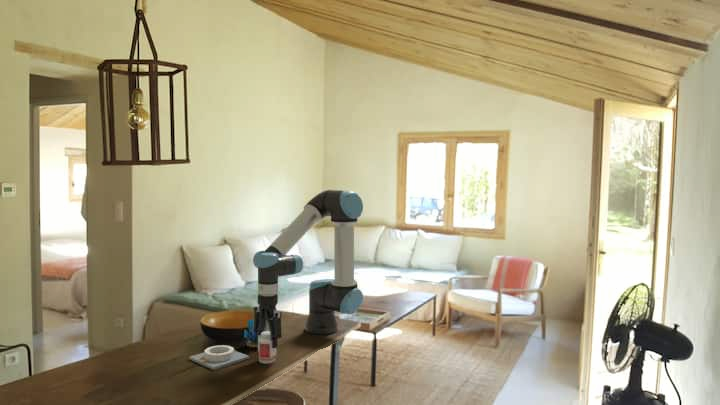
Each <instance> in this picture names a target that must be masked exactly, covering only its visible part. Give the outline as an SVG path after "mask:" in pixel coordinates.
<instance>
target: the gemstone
mask: <svg viewBox="0 0 720 405" xmlns="http://www.w3.org/2000/svg"><path fill="white" fill-rule="evenodd" d="M246 323H247V327H248V330H249V331H248V330H246V329H244V335H243V338H244V339H246V340H247V342H246V346H247V347H248V346H249V347H248V348H252V347H253V348H255V347H256V348H258V342H257V333H256V332H254V317H253V318H251V319H250V320H248V321H247V322H246ZM264 331H268V329H267V327H265V328H264Z"/></svg>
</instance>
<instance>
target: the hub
mask: <svg viewBox="0 0 720 405" xmlns="http://www.w3.org/2000/svg"><path fill="white" fill-rule="evenodd" d="M246 359H247V360H249V359H250V356H249V355H247V354H245V353H242V352H239V351H237V350H235V349H234V347H233V346H230V345H224V344H222V345H221V344H220V345H213V346H209V347H207V348H206V349H204V352H200V353H198V354H194V355H191V356H189V357H188V360H189V361H192V362H195V363H197V364H199V365H201V366H203V367H205V368H208V369H209V370H212V371H215V370H219V369H222V368H224V367H228V366H231V365H234V364H237V363H240V361H241V362H243V360H244V361H247V360H246Z"/></svg>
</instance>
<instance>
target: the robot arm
mask: <svg viewBox="0 0 720 405" xmlns="http://www.w3.org/2000/svg"><path fill="white" fill-rule="evenodd" d="M363 202H364V201H363V200H362V197H361V196H360V195H359V193H357V192H355V191H353V190H352V191H351V190H341V189H340V190H336V189H335V190H334V189H333V190H332V189H328V190H323V191H321V192H319V193H318V194H316V195H315V196H313V197H312V198H311V199H310V200H308V202H307V203H306V204H305V205H304V206H303V210H302V211H301V212H300V213H299V214H298V215H297V217H295V218H294V220H293V221H291V223H290V224H289V225H288V226H286V228H285V229H284V230H283V231H282V232H281V233H280V234H279V235H278V236H277V238H275V239H274V240H273V242H272V243H271V244H270V245H269V246H268V247H267V248H266V249H265V250H259V251H257V252H255V253H254V255H253V258H252V263H253V266H254V267H255V268H256V269H257V293H258V294H257V304H258V306H254V307H253V312H254V313H253V314H254V316H253V318H254V332H256V333H257V342H258V347H257V353H259V340H260V338H262V337H261V333H262V332H264V329H265V328H266V323H267V324H268V327H269V328H268V329H269V331H270V334H271V339H270V357H273V356H275V357H276V356H277V349H278V348H277V347H278V340H279V339H282V316H283V315H282V314H283V313H282V312H281V311H278V310H277V305H278V301H279V298H278V297H279V294H278V293H279V277H284V276H292V275H293V276H294V275H295V274H299V273H301V272H302V271H303V268H304V261H303V259H302V257H301V256H300V255H298V254H290V255H287V254H288V253H289V252H290V251H291V249H292V248H294V246H296V244H297V243H298V242H300V240H301V239H302V238H303V237H304V236H305V235H306V233H307V232H308V231H309V230H310V229H311V228H312V227H313V226H314V224H316V223H317V222H318V223H319V222H320V221H321V220H322V219H324V218H326V217H330V222H331V223H332V224H333V225H334V226H333V227H334V230H333V231H334V236H333V237H334V242H333V243H334V249H333V250H334V278H323V279H322V278H321V279H315V280H313V281H311V282H310V284H309V290H308V292H309V294H308V298H309V300H308V304H309V305H308V311H309V312H308V315H307V319H306V323H304V324H305V325H304V331H306V332H307V333H309V334H313V335H330V334H333V333H336V332H337V331H338V330H339V324H338V322H337V318H336V313H335V312H337V313H341V314H343V315H354V314H355V313H357V312H358V311H359V309H360V308H361V306H362V304H363V301H364V300H363V299H364V295H363V291H362V290H361V289H359V288H358V281H357V280H356V279H355V225H356V224H357V223H358V218H360V217H361V216H362V213H363V210H364V205H363V204H364V203H363Z"/></svg>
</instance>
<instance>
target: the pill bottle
mask: <svg viewBox="0 0 720 405" xmlns="http://www.w3.org/2000/svg"><path fill="white" fill-rule="evenodd" d="M261 337H262V338H260V340H259V352H258V362H259V363H261V364H272V363H274V362H275V361H276V356H273V357H270V339H271V334H270V330H267V331H264V332H262V333H261Z"/></svg>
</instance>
